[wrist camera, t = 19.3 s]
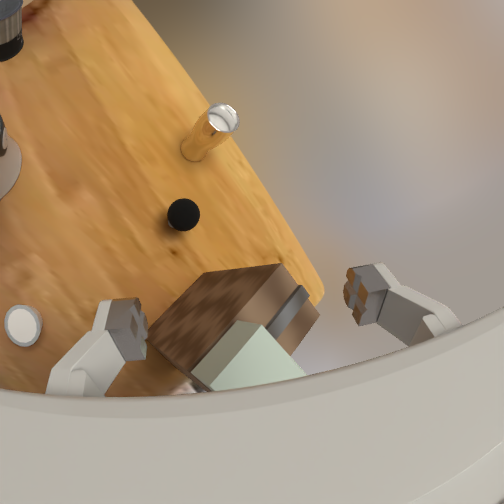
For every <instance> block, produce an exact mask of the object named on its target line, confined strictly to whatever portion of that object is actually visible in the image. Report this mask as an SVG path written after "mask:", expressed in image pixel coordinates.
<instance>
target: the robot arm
mask: <svg viewBox="0 0 504 504" xmlns="http://www.w3.org/2000/svg"><path fill="white" fill-rule="evenodd" d="M21 161H22V158H21V151H20V148H19V146H18V144H17V143H16V142H15V141H14V140H13V139H12V138H11V137H9V136H8V134H7V130H6V127H5V125H4V122H3V120H2V117H1V115H0V200H1V198H2V197H3V196H4V195H6V194H7V193H8V191H9V190H10V189H11V188H12V187H13V185H14V183H15V182H16V180H17V178H18V175H19V172H20V169H21ZM346 277H347V278H348V281H347V282H346V284H345V285H344V290H343V293H344V300H345V303H346V305H347V306H348V307H349V308H351V309H352V310H353V313H352V315H353V317H354V319H355V321H356V323H357V324H358V326H363V325H367V324H372V323H376V322H377V324H378V325H380V326H381V327H382V328H384V329H385V330H387V331H388V332H389V333H391V334H392V335H394V336H395V337H396V338H398V339H399V340H401V341H402V342H403V343H405V344H406V345H408V346H409V347H407V348H404V349H401V350H398V351H395V352H392V353H389V354H386V355H383V356H379V357H376V358H373V359H370V360H366V361H363V362H359V363H356V364H352V365H348V366H344V367H341V368H337V369H333V370H329V371H325V372H321V373H316V374H312V375H307V376H303V377H298V378H293V379H289V380H283V381H278V382H273V383H267V384H262V385H256V386H249V387H243V388H236V389H228V390H220V391H212V392H203V393H192V394H181V395H166V396H147V397H105V396H104V394H105V392H106V391H107V389H108V388H109V386H110V385H111V383H112V382H113V380H114V379H115V377H116V376H117V374H118V373H119V371H120V370H121V368H122V367H123V365H124V364H125V363H126V362H125V361H134V360H145V359H146V350H147V345H146V343H145V341H144V340H145V339H146V338H147V337H148V323H147V319H146V316H145V313H143V312H142V311H141V303H140V301H139V298H137V297H134V298H122V299H113V300H102V301H101V302H100V303H99V306H98V310H97V313H96V316H95V320H94V324H93V327H92V331H88V332H87V333H86V334H85V335H84V336H83V337H82V338H81V339H80V340H79V341H78V342H77V343H76V344H75V345H74V346H73V347H72V348H71V349H70V350H69V351H68V352H67V353H66V354H65V355H64V356H63V358H62V359H61V360H60V361H59V362H58V363H57V364H56V365H55V366H54V367H53V368H52V370H51V373H50V377H49V381H48V385H47V389H46V393H45V394H39V393H30V392H22V391H14V390H8V389H1V388H0V504H504V307H502V308H500V309H498V310H496V311H494V312H492V313H490V314H488V315H486V316H484V317H481V318H479V319H477V320H475V321H473V322H470V323H468V324H466V325H462V324H461V322H460V321H459V320H458V319H457V317H456V316H455V315H454V313H453V312H452V311H451V310H450V308H449V307H447V306H445V305H443V304H441V303H439V302H437V301H435V300H433V299H431V298H429V297H427V296H425V295H423V294H421V293H419V292H417V291H415V290H413V289H411V288H409V287H407V286H405V285H404V286H401V285H400V283H399V282H398V281H397V280H396V278H395V277H394V276H393V274H392V273H391V272H390V271H389V270H388V268H387V267H386V266H385V265H384V263H382V262H379V263H374V264H370V265H364V266H358V267H353V268H349V269H348V270H347V274H346Z"/></svg>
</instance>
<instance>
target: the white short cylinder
mask: <svg viewBox="0 0 504 504" xmlns="http://www.w3.org/2000/svg"><path fill="white" fill-rule="evenodd" d="M4 321H5V330H6V332H7V335H8V337H9V338H10V339H11V340H12V341H13V342H14V343H15V344H17V345H19V346H25V347H27V346H30V345H32V344H34V343H35V341H36V340H37V339H38V337H39V334H40V331H41V328H42V325H43V323H42V317H41V314H40V313H39V311H38V310H37V309H36V308H34V307H32V306H27V305H16V306H13V307H11V308H10V309H9V311H8V312H7V313H6V317H5V320H4Z"/></svg>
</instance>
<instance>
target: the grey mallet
mask: <svg viewBox="0 0 504 504" xmlns="http://www.w3.org/2000/svg"><path fill="white" fill-rule="evenodd" d="M191 373H192V374H193V375H194V376H195V377H196V378H197V379H198V380H200V381H201V382H202V383H203V384H204V385H205V386H206V387H208V388H209V389H210V390H211V391H220V390H228V389H236V388H243V387H249V386H256V385H262V384H267V383H273V382H278V381H283V380H289V379H293V378H298V377H303V376H307V374H305V372H304V371H303V370H302V369H301V368H300V367H299V366H298V365H297V364H296V362H295V361H294V360H293V359H292V358H291V357H290V356H289V355H288V354H287V352H286V351H285V350H284V349H283V348H282V347H281V346H280V345H279V343H278V342H277V341H276V340H275V339H274V338H273V337H272V336H271V334H270V333H269V332H268V331H267V330H266V329H265V328H264V327H263V325H261V324H255V323H250V322H244V321H239V320H237V321H236V322H235V323H234V325H233V326H232V327H231V328H230V329H229V330H228V331H227V332H226V334H225V335H224V336H223V337H222V338H221V339H220V340H219V341H218V343H217V344H216V345H215V346H214V347H213V348H212V349H211V350H210V352H209V353H208V354H207V355H206V356H205V357H204V358H203V359H202V360H201V362H200V363H199V364H198V365H197V366H196V367H195V368H194V369H193V370H192V371H191Z"/></svg>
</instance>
